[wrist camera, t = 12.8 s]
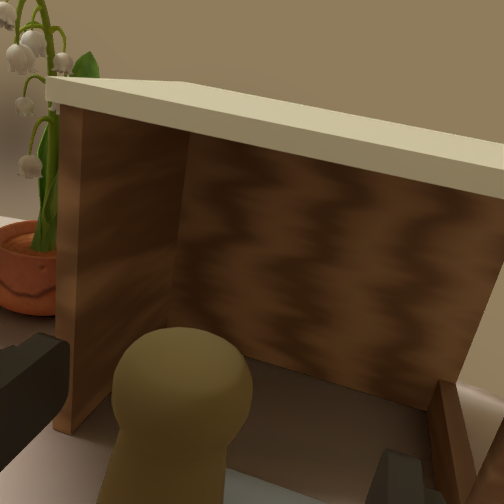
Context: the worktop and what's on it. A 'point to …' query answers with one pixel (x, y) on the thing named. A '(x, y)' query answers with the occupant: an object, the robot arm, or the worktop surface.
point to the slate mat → (259, 491)
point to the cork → (175, 418)
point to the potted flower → (36, 170)
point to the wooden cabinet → (278, 246)
